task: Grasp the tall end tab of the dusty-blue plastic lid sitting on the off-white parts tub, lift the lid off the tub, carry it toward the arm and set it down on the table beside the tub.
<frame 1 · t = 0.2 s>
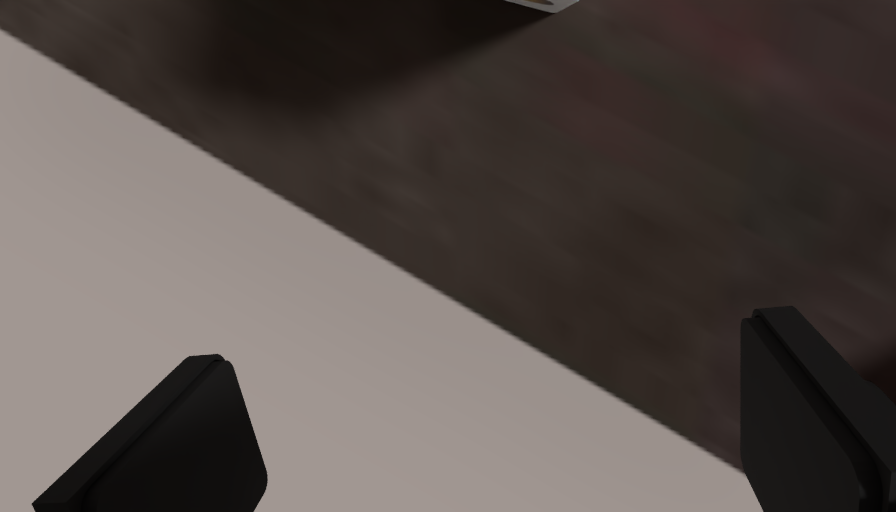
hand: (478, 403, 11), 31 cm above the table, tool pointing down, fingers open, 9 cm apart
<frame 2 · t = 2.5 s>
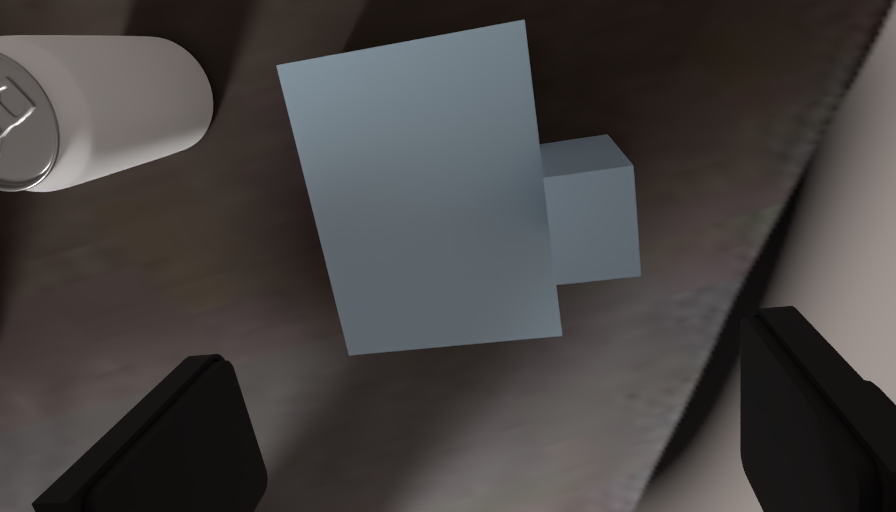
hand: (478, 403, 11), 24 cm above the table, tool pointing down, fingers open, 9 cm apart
can: (166, 95, 35), on the table
lid: (429, 202, 29), point 6 cm above the table, touching tub
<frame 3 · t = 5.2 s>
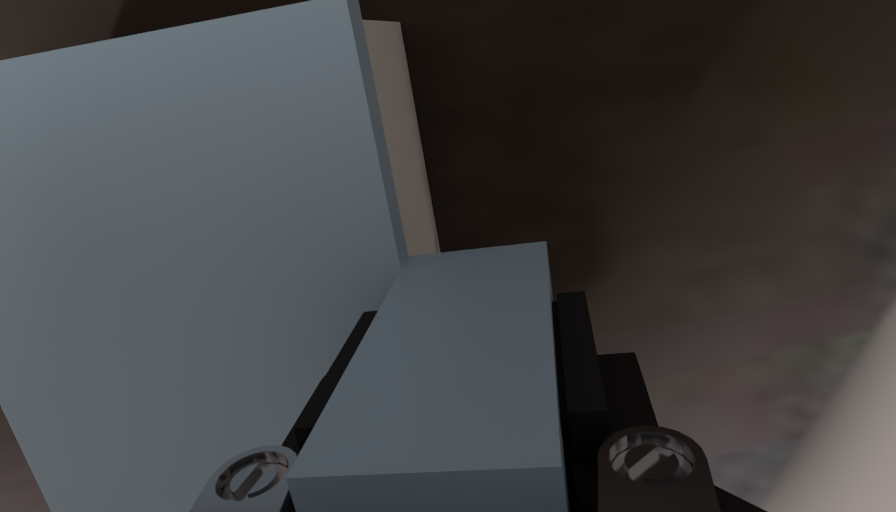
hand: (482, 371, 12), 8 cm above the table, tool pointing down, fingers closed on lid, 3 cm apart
tub: (296, 266, 20), on the table
lid: (207, 355, 15), point 6 cm above the table, touching gripper, tub
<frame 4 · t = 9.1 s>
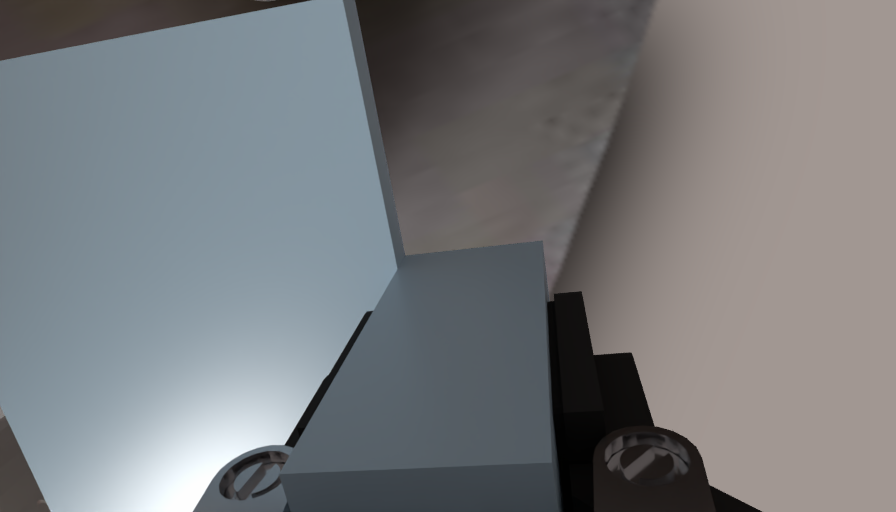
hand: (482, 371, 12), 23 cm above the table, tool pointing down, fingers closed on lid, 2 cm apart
lid: (205, 354, 15), point 21 cm above the table, touching gripper
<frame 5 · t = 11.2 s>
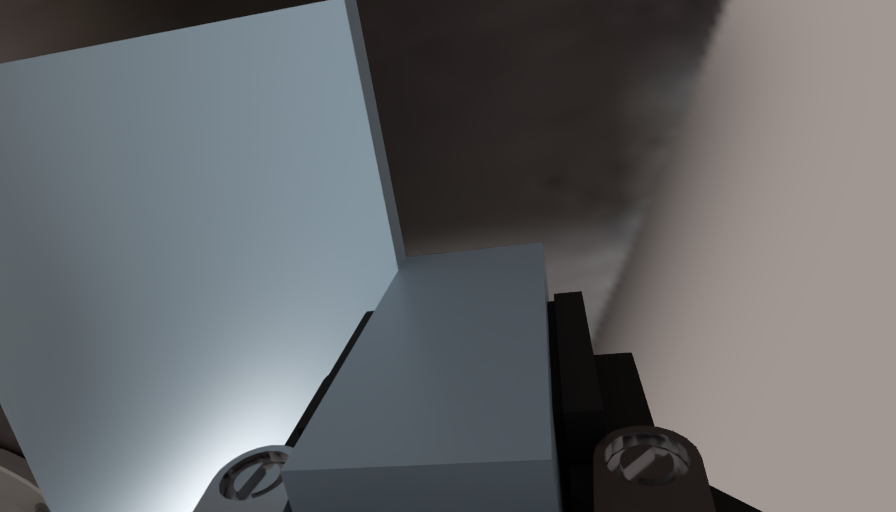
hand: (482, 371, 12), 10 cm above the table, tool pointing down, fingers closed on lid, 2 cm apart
lid: (206, 355, 15), point 8 cm above the table, touching gripper
when the fingers open (4 cm above the table, at t = 13.2 s): lid drops 1 cm, point 1 cm above the table.
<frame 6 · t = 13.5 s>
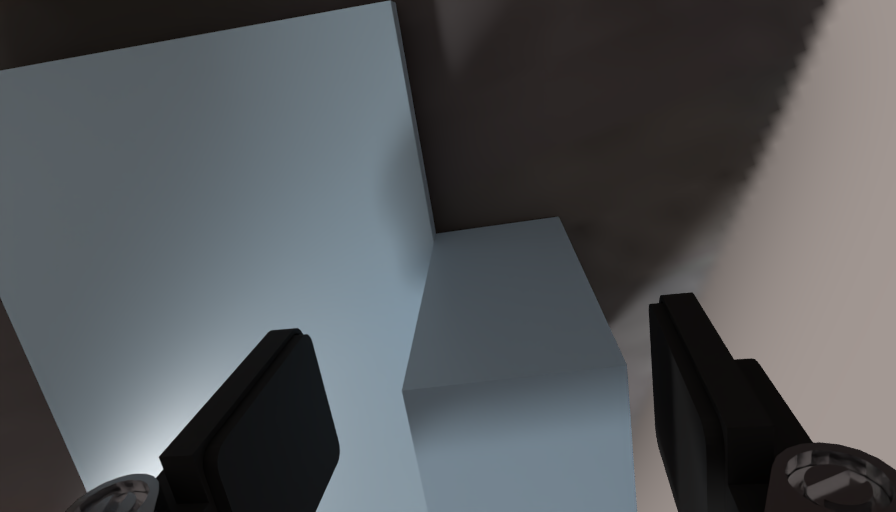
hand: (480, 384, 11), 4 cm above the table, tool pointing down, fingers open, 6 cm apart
lid: (244, 333, 16), point 1 cm above the table
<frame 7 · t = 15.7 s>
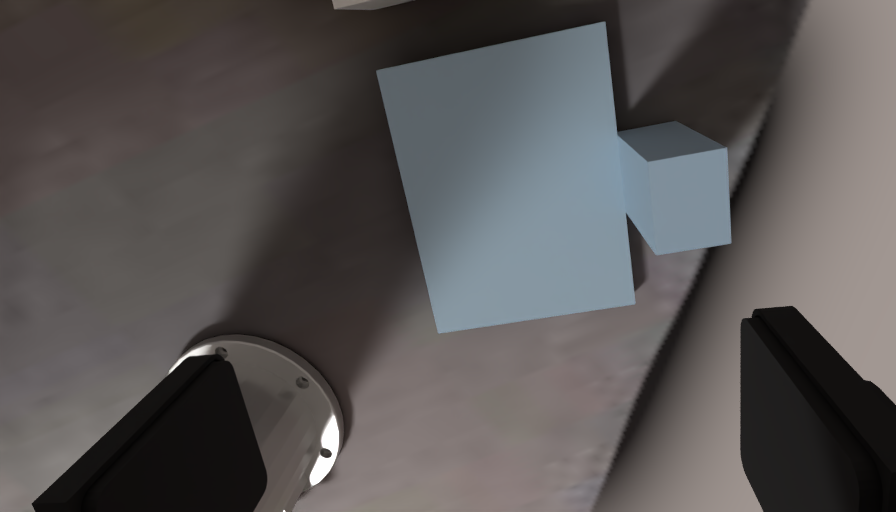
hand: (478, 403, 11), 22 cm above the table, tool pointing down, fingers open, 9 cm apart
lid: (512, 190, 31), point 1 cm above the table
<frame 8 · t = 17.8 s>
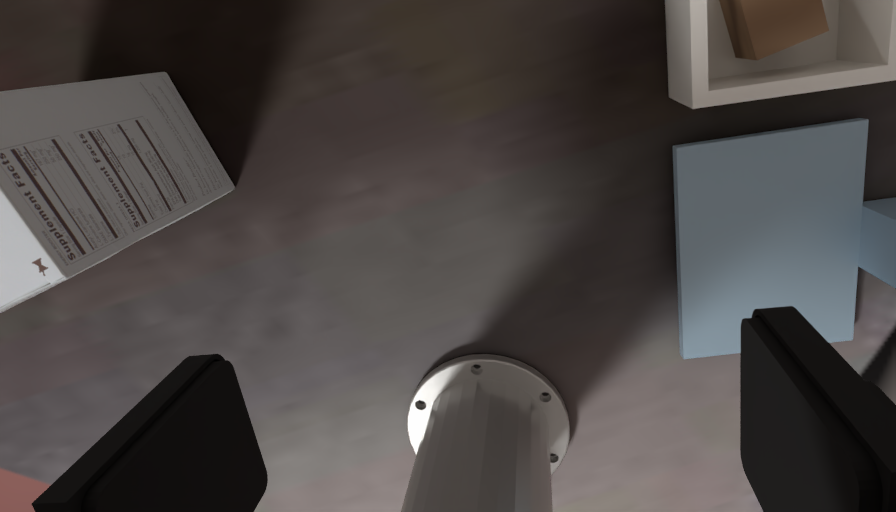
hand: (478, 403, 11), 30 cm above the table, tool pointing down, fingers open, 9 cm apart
part cube: (759, 14, 34), point 1 cm above the table, touching tub
lid: (763, 244, 39), point 1 cm above the table
supplement box: (154, 157, 43), on the table
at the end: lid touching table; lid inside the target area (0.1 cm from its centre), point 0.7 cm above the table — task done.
